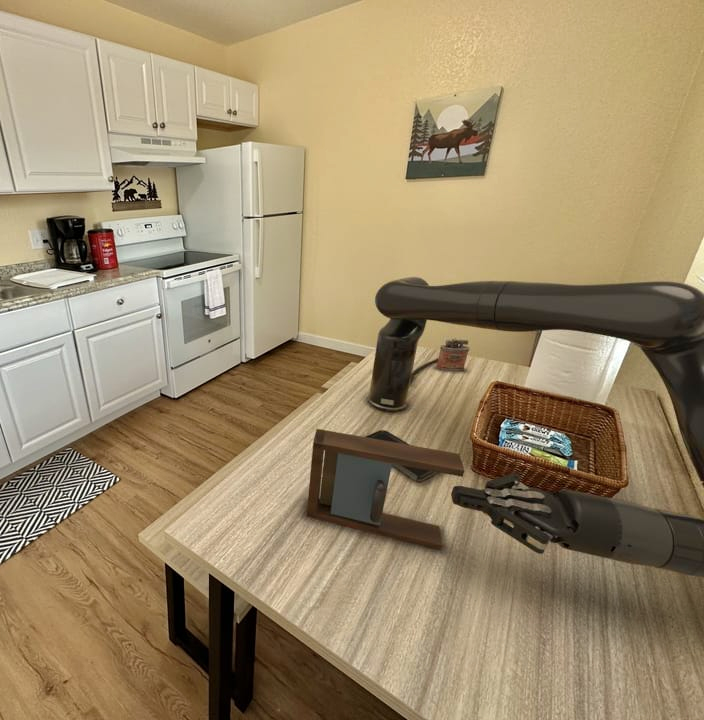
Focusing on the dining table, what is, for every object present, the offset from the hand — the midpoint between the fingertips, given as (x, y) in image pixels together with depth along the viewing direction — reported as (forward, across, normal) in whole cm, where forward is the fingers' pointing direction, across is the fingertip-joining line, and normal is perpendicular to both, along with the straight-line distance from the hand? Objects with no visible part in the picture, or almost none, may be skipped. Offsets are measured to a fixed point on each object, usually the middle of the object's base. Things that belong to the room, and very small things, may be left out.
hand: (453, 494), depth 55 cm
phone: (+4, -24, +13) cm, 28 cm away
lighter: (-13, -75, +13) cm, 78 cm away
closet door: (+12, -1, +11) cm, 17 cm away
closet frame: (+9, -3, +13) cm, 16 cm away
